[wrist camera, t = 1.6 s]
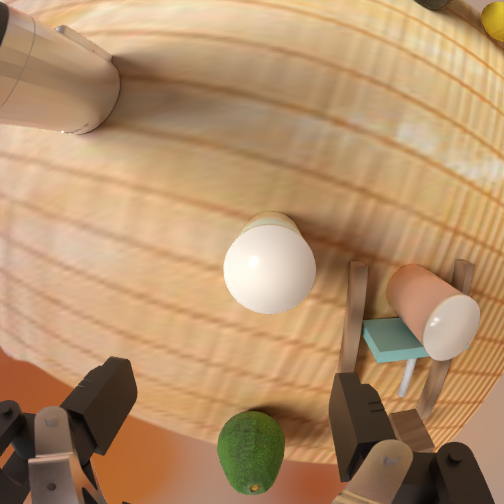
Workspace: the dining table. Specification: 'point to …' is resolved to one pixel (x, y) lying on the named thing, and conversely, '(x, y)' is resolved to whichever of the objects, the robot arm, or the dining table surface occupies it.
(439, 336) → the jar
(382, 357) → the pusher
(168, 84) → the dining table surface
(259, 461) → the fruit
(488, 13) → the lemon
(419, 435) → the lane
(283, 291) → the sage jar
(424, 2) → the supplement bottle
